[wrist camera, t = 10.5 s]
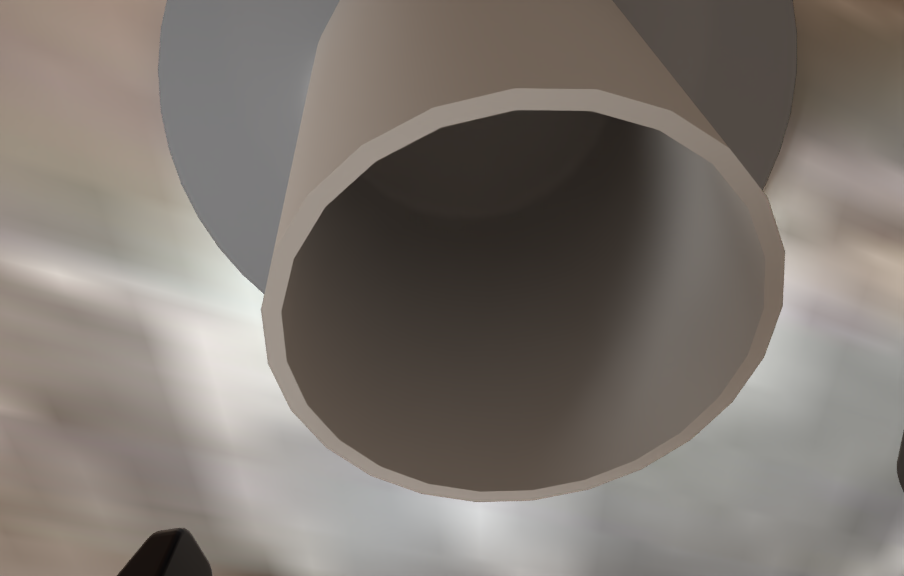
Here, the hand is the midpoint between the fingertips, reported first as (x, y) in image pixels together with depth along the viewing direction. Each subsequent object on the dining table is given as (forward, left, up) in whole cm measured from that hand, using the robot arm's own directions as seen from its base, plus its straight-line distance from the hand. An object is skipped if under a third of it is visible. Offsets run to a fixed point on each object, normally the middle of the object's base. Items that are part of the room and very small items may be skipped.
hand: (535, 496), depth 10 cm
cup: (0, +1, -11) cm, 11 cm away
